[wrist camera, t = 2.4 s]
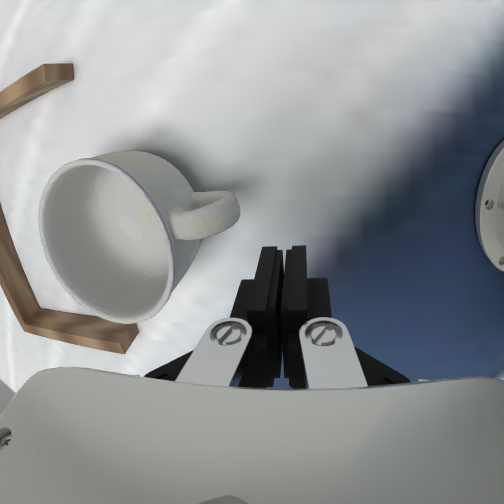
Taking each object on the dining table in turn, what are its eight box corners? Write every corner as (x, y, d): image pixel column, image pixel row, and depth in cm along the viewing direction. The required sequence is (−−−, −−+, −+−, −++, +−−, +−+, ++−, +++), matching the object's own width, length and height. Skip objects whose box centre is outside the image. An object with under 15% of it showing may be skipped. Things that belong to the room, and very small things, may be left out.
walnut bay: (72, 63, 18) (44, 63, 15) (139, 331, 31) (124, 354, 27) (-23, 121, 22) (-45, 128, 19) (38, 316, 34) (24, 331, 31)
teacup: (113, 263, 27) (64, 314, 20) (86, 149, 22) (17, 176, 15) (261, 267, 24) (242, 337, 17) (251, 125, 19) (219, 140, 12)
